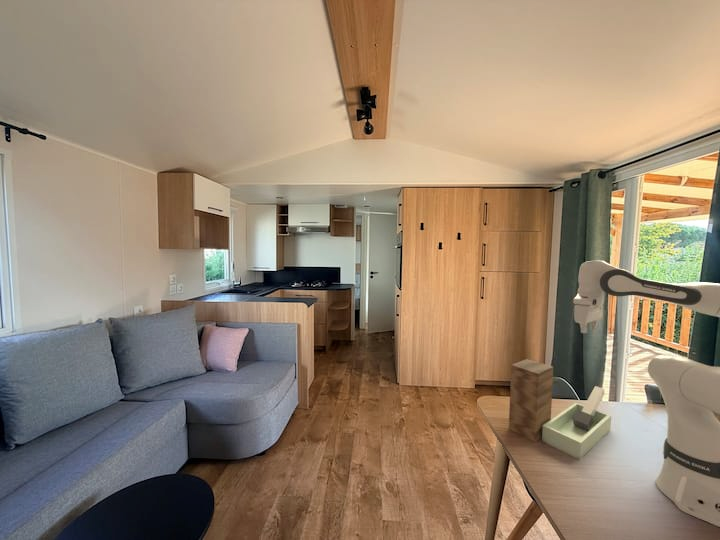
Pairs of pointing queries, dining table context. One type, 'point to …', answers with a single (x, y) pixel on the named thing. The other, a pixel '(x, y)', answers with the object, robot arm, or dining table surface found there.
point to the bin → (575, 432)
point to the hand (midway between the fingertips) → (588, 331)
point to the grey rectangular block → (588, 410)
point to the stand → (530, 398)
